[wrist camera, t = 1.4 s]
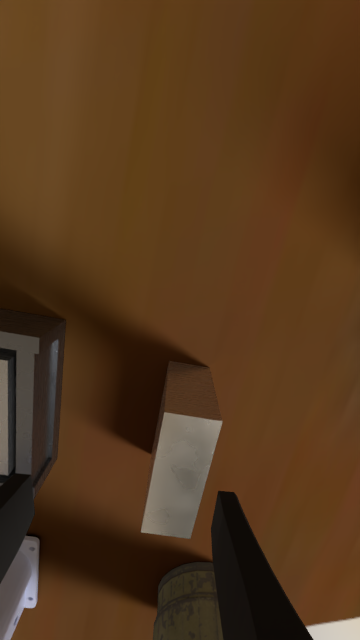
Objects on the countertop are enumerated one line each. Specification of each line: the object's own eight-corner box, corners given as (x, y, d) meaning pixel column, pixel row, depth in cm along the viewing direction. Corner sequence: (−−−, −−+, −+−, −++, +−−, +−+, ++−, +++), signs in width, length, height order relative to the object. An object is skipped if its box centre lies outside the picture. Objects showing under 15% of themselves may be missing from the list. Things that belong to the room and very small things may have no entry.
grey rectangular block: (187, 459, 21) (190, 538, 16) (151, 453, 21) (140, 532, 15) (209, 367, 19) (222, 421, 13) (169, 360, 19) (164, 412, 13)
